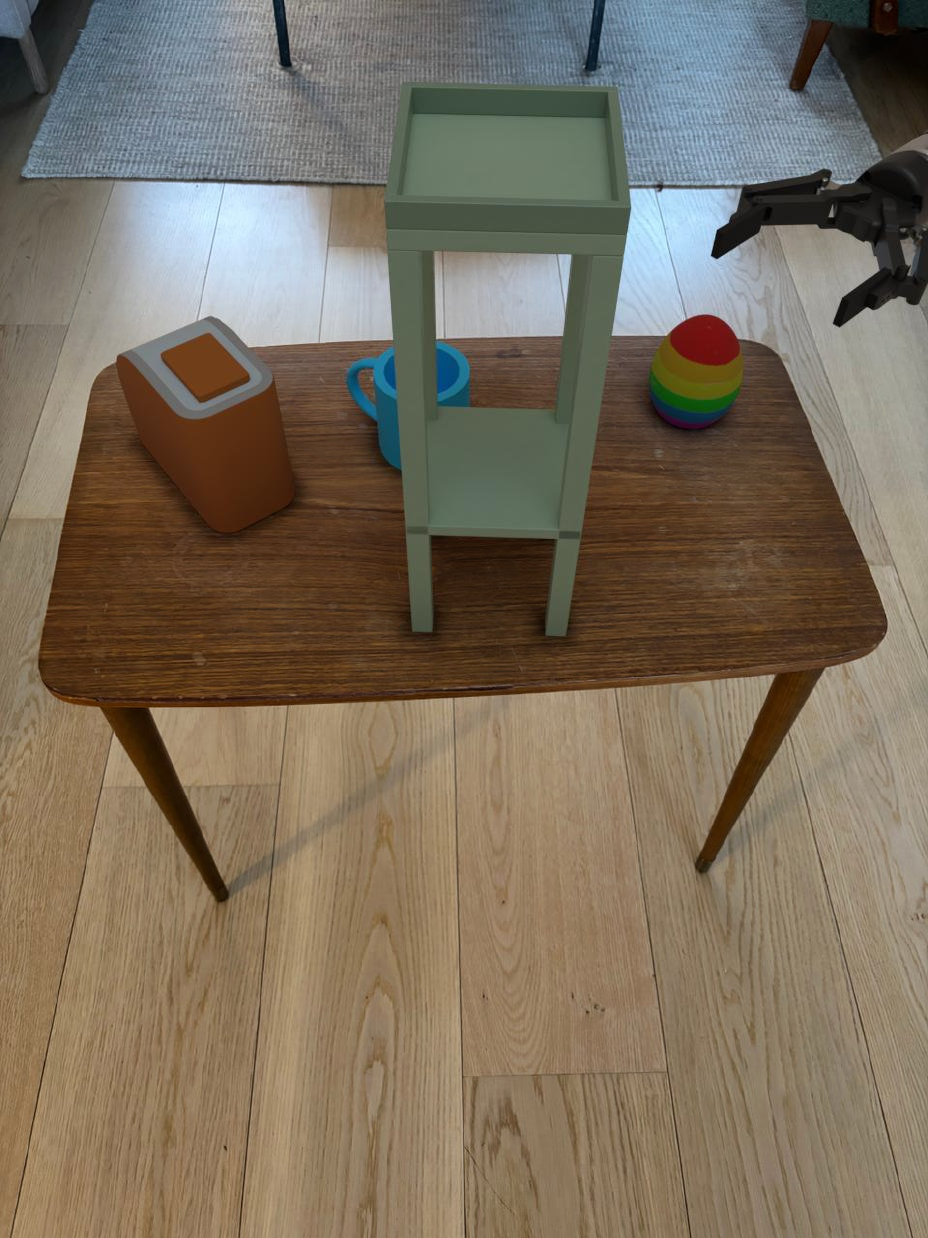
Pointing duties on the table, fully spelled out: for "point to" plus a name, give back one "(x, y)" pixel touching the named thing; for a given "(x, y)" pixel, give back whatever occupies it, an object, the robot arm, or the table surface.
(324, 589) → the table surface
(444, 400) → the mug
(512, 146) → the stand
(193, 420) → the alarm clock
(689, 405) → the decorative egg
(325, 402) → the table surface
